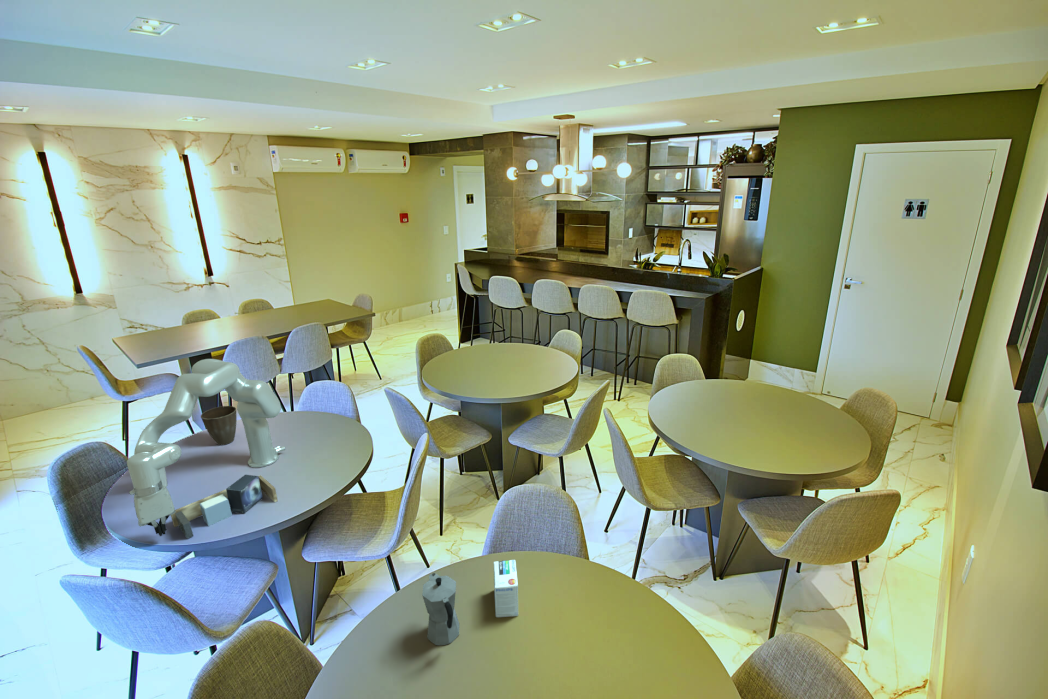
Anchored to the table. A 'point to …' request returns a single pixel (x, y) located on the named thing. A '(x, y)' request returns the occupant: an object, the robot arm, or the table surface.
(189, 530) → the bookend
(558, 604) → the table surface
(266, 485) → the curved wooden plank
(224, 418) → the plant pot
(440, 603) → the coffeepot
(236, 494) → the small box
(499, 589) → the light bulb box
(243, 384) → the robot arm
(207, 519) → the pale grey block
